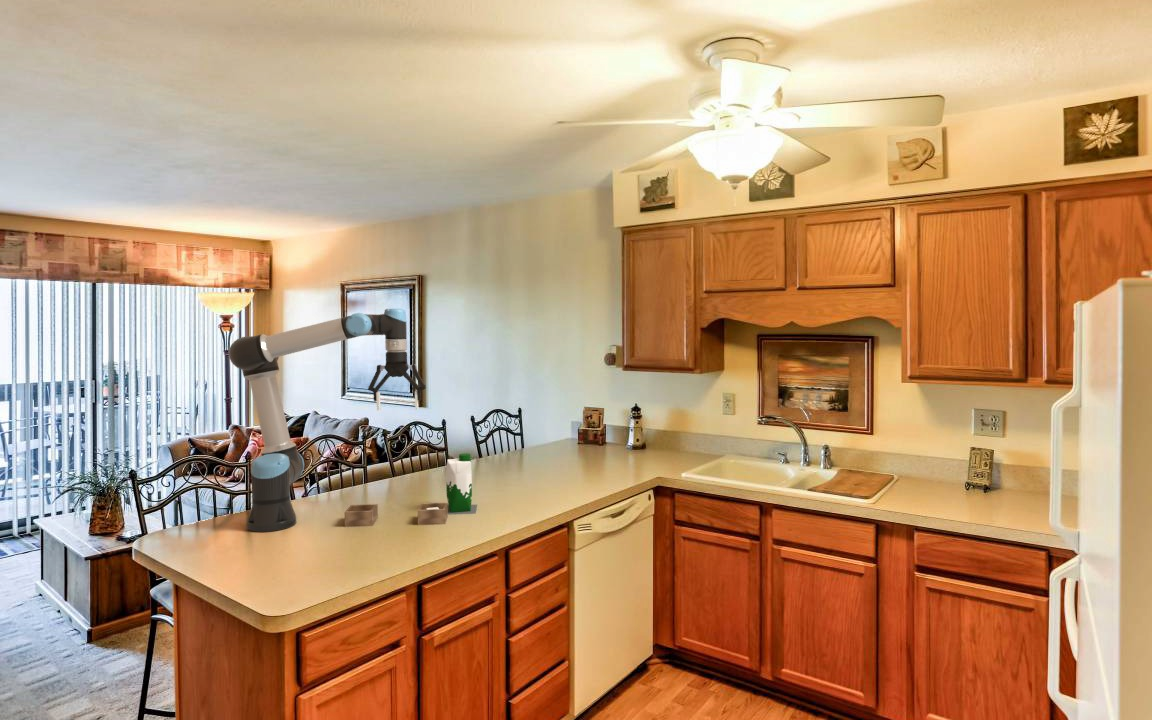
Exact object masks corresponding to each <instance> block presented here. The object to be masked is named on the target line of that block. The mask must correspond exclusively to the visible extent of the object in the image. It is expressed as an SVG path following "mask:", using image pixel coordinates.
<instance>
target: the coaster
mask: <svg viewBox="0 0 1152 720" xmlns="http://www.w3.org/2000/svg"><path fill="white" fill-rule="evenodd" d="M477 508H478V504H471V511H466V512H454V513H451V512H450V509H449V505H448V516H449V515H474V514H476V513H477Z"/></svg>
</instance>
